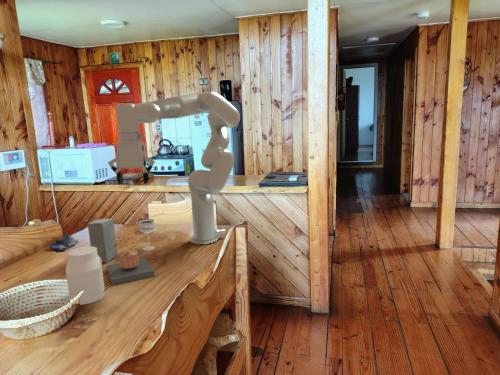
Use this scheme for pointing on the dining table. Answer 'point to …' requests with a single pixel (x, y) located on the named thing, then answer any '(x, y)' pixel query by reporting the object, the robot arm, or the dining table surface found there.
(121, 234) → the dining table surface
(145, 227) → the wineglass
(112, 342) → the dining table surface
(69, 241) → the snack package
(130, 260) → the orange dial knob
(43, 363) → the dining table surface
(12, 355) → the dining table surface
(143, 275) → the post stand
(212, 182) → the robot arm
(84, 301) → the jar
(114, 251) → the skincare box
